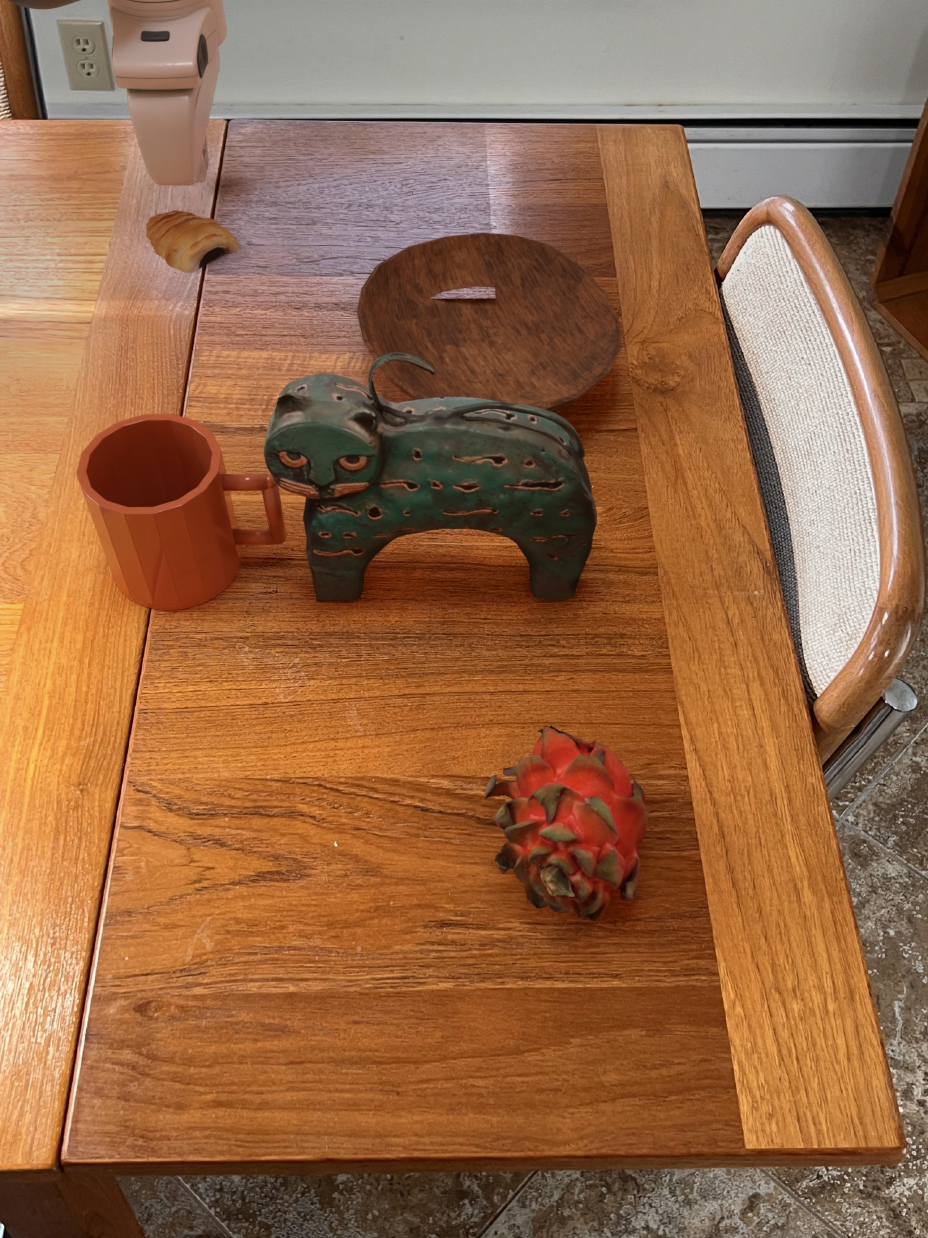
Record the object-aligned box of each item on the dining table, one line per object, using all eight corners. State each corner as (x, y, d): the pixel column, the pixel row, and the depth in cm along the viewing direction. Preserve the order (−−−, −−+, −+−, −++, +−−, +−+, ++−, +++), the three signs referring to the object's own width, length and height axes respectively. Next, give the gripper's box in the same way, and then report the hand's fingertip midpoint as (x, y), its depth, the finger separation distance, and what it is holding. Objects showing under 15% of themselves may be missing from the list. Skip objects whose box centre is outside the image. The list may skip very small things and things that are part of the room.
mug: (102, 611, 77) (65, 514, 69) (123, 513, 82) (90, 413, 74) (285, 609, 77) (268, 512, 69) (294, 512, 82) (279, 412, 75)
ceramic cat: (288, 615, 77) (247, 384, 61) (298, 542, 81) (261, 307, 65) (587, 619, 77) (623, 390, 61) (581, 546, 81) (615, 312, 65)
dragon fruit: (564, 973, 64) (538, 798, 72) (700, 916, 61) (655, 740, 69) (474, 912, 59) (458, 731, 67) (617, 846, 55) (580, 665, 64)
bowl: (407, 488, 84) (405, 438, 80) (332, 307, 96) (327, 255, 92) (655, 431, 88) (665, 380, 84) (552, 264, 100) (556, 213, 96)
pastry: (128, 247, 101) (118, 208, 98) (192, 218, 104) (185, 179, 101) (188, 297, 97) (180, 258, 94) (254, 266, 100) (248, 227, 97)
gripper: (147, -44, 98) (177, 111, 109) (107, 79, 85) (146, 240, 96) (221, -44, 98) (244, 111, 109) (193, 79, 86) (222, 240, 97)
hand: (198, 173), depth 103 cm, fingers closed
